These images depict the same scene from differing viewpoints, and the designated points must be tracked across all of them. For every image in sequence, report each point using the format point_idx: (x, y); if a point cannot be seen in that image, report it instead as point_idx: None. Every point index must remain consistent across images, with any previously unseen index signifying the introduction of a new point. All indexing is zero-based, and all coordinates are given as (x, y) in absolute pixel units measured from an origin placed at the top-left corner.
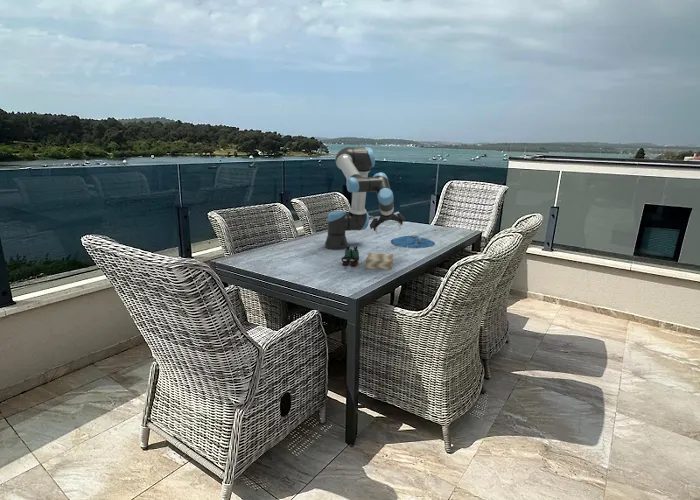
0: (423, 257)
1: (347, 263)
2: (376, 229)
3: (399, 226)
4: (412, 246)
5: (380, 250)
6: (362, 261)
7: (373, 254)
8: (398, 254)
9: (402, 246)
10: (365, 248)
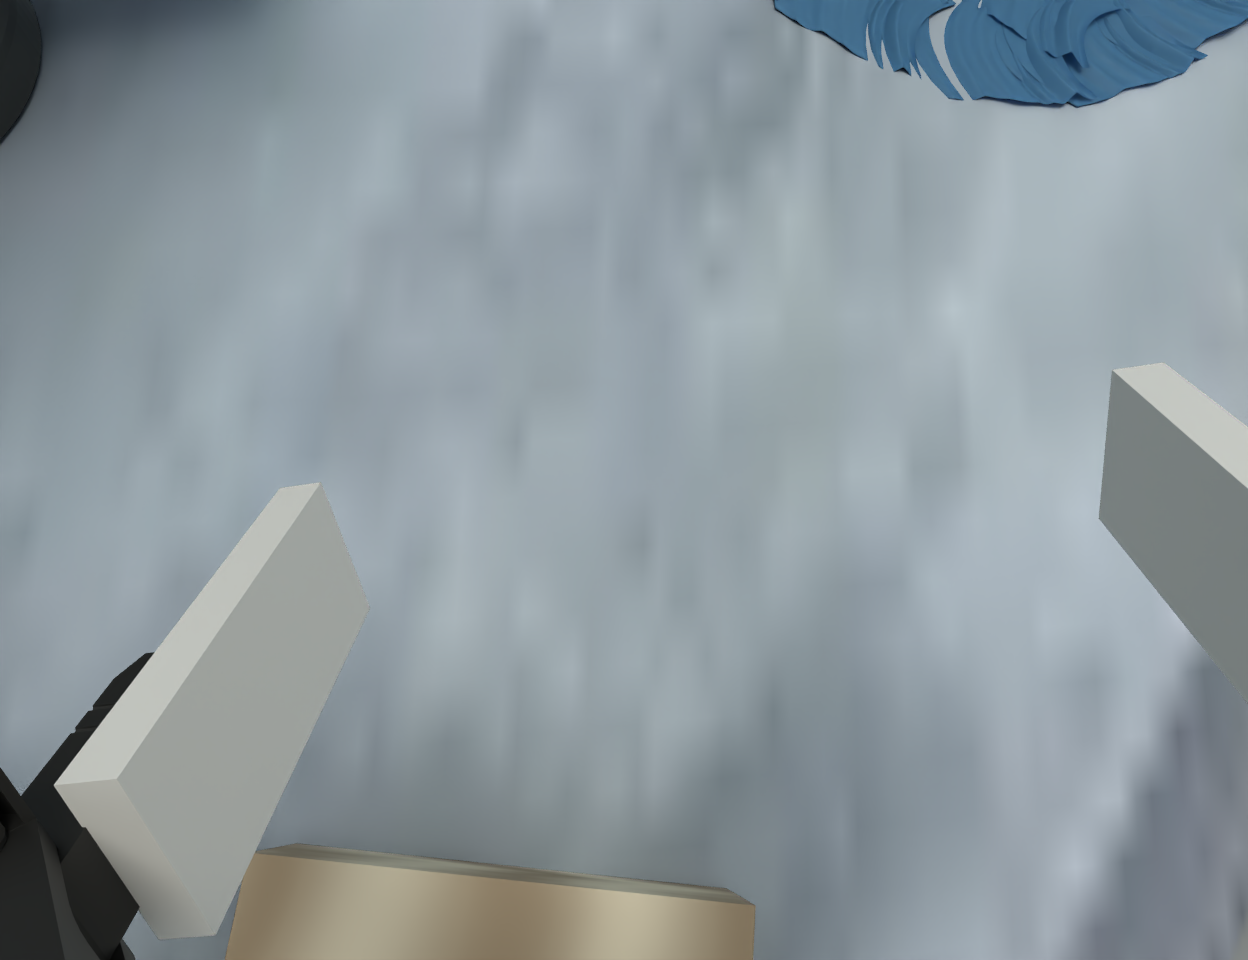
0: None
1: None
2: (221, 867)
3: (1209, 644)
4: (1014, 37)
5: (545, 230)
6: None
7: (341, 954)
8: (820, 422)
9: (874, 37)
10: (316, 140)
